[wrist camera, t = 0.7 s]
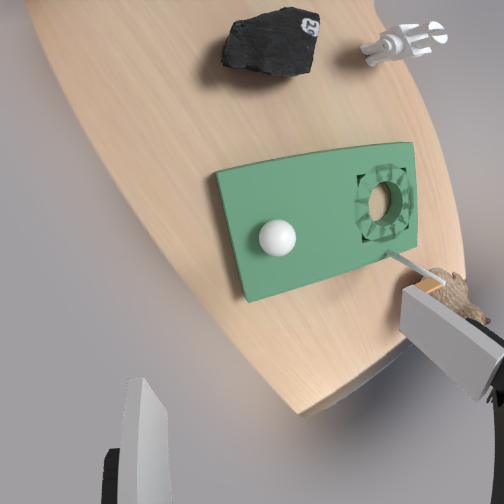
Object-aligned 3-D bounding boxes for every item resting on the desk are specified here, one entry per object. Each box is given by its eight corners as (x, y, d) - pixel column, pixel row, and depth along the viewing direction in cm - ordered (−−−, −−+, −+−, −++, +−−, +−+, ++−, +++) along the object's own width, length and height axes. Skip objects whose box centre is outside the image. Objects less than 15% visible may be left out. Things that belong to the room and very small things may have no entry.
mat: (214, 171, 27) (235, 182, 16) (400, 141, 31) (476, 148, 19) (243, 293, 32) (274, 363, 21) (406, 241, 36) (470, 274, 24)
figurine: (405, 318, 41) (463, 369, 27) (389, 282, 37) (461, 335, 24) (439, 283, 41) (500, 323, 27) (427, 243, 37) (502, 281, 23)
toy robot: (397, 63, 27) (464, 47, 16) (357, 73, 27) (428, 52, 15) (384, 38, 25) (448, 15, 14) (343, 46, 25) (409, 14, 14)
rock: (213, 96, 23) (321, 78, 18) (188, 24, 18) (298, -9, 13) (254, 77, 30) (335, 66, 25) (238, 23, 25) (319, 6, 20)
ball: (252, 220, 27) (261, 229, 24) (285, 212, 28) (298, 220, 25) (258, 253, 29) (268, 266, 25) (290, 244, 29) (304, 256, 26)
